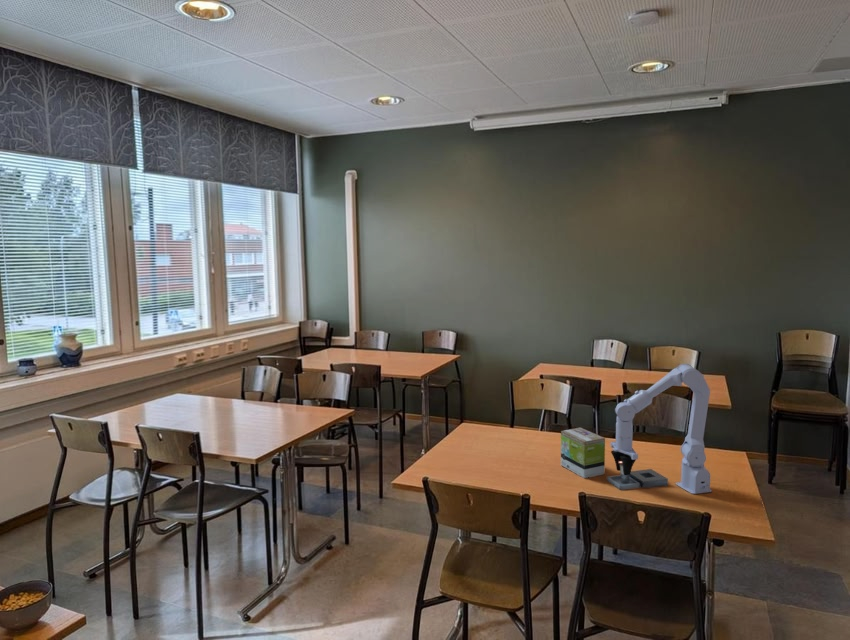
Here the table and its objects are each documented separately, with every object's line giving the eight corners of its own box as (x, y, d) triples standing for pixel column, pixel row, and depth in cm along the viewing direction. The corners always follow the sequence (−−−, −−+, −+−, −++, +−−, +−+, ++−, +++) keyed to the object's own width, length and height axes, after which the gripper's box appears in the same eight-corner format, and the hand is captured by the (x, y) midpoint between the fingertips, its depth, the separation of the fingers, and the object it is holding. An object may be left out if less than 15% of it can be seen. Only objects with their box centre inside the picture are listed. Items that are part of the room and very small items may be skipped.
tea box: (559, 466, 232) (560, 429, 231) (580, 462, 236) (580, 426, 235) (584, 479, 219) (584, 440, 217) (605, 474, 222) (606, 437, 221)
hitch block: (667, 485, 211) (667, 478, 211) (643, 488, 209) (643, 481, 209) (650, 475, 221) (651, 468, 221) (627, 478, 219) (627, 471, 218)
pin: (632, 482, 212) (632, 462, 211) (622, 484, 211) (622, 464, 210) (626, 478, 216) (625, 458, 215) (617, 480, 215) (616, 459, 214)
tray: (640, 487, 210) (640, 483, 210) (620, 489, 208) (620, 485, 208) (626, 478, 218) (626, 474, 218) (606, 480, 217) (606, 476, 216)
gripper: (603, 431, 217) (603, 466, 219) (625, 443, 203) (624, 480, 205) (620, 429, 219) (619, 464, 220) (643, 441, 205) (642, 478, 206)
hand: (623, 472), depth 213 cm, fingers closed on pin, 4 cm apart
